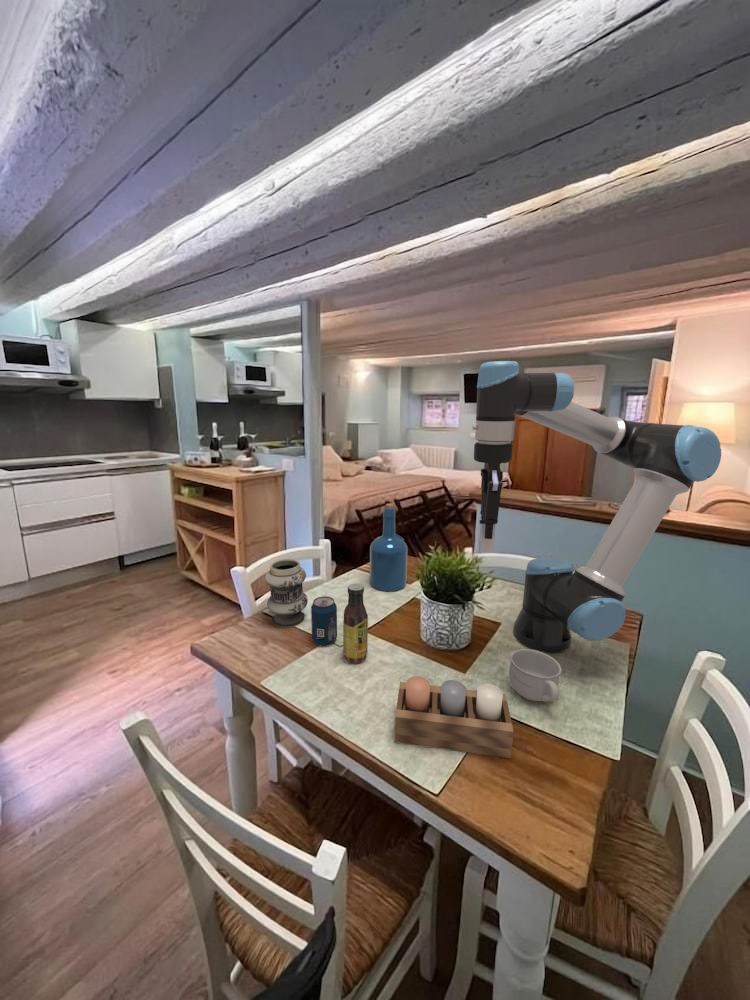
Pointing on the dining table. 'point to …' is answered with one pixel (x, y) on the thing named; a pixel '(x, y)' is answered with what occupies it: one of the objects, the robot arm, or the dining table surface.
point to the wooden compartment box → (453, 727)
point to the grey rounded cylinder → (452, 698)
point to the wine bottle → (388, 556)
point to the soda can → (324, 621)
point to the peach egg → (417, 694)
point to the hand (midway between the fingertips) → (486, 550)
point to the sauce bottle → (355, 626)
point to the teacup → (534, 675)
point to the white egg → (488, 703)
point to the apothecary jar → (286, 593)
